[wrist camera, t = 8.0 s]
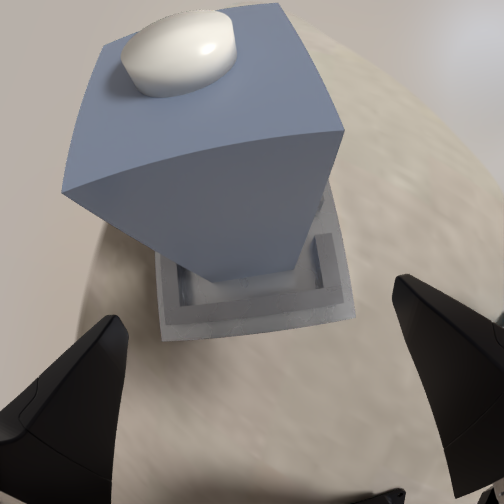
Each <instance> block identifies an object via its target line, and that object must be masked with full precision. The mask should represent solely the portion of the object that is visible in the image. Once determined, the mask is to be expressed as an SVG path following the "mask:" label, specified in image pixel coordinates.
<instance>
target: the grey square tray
mask: <svg viewBox="0 0 504 504" xmlns="http://www.w3.org/2000/svg"><path fill="white" fill-rule="evenodd" d="M155 268H156V285H157V299H158V310H159V321H160V330H161V339H162V342H163V341H182V340H196V339H209V338H221V337H231V336H240V335H249V334H258V333H266V332H273V331H281V330H288V329H294V328H301V327H307V326H313V325H319V324H325V323H330V322H336V321H341V320H346V319H352V318H356V314H355V307H354V301H353V294H352V288H351V282H350V276H349V270H348V265H347V259H346V254H345V249H344V244H343V239H342V234H341V230H340V225H339V221H338V216H337V212H336V208H335V204H334V199H333V195H332V191H331V187H330V184H329V180H328V181H327V184H326V187H325V189H324V192H323V195H322V198H321V200H320V203H319V206H318V208H317V211H316V214H315V217H314V219H313V222H312V224H311V227H310V230H309V232H308V235H307V238H306V240H305V243H304V245H303V248H302V250H301V253H300V255H299V258H298V260H297V263H296V265H295V268H294V269H293V270H288V271H282V272H276V273H270V274H264V275H257V276H251V277H245V278H239V279H232V280H226V281H220V282H213V283H211V282H210V281H208V280H206V279H204V278H202V277H200V276H199V275H197V274H195V273H193V272H191V271H190V270H188V269H186V268H184V267H182V266H181V265H179V264H177V263H175V262H174V261H172V260H170V259H168V258H167V257H165V256H163V255H161V254H160V253H158V252H156V251H155Z"/></svg>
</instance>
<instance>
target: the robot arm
mask: <svg viewBox="0 0 504 504" xmlns="http://www.w3.org/2000/svg"><path fill="white" fill-rule="evenodd" d="M392 302H393V305H394V308H395V311H396V314H397V317H398V320H399V323H400V326H401V330H402V333H403V336H404V339H405V342H406V344H407V347H408V349H409V352H410V354H411V356H412V359H413V361H414V364H415V366H416V369H417V371H418V374H419V376H420V379H421V382H422V384H423V387H424V390H425V392H426V395H427V398H428V401H429V404H430V407H431V409H432V412H433V415H434V419H435V422H436V425H437V428H438V431H439V435H440V438H441V441H442V445H443V448H444V453H445V457H446V461H447V465H448V469H449V473H450V477H451V482H452V487H453V492H454V496H455V499H457V498H459V497H462V496H465V495H467V494H470V493H472V492H474V491H477V490H479V489H481V488H484V487H486V486H488V485H490V484H492V483H493V486H491V487H490V488H489V489H487V490H486V491H484V492H483V493H482V495H481V497H480V499H479V501H478V503H477V504H504V328H502V327H500V326H499V325H497V324H496V323H494V322H492V321H491V320H489V319H487V318H486V317H484V316H482V315H481V314H479V313H477V312H476V311H474V310H472V309H471V308H469V307H467V306H465V305H464V304H462V303H460V302H459V301H457V300H455V299H453V298H452V297H450V296H448V295H446V294H444V293H443V292H441V291H439V290H437V289H435V288H434V287H432V286H430V285H428V284H426V283H425V282H423V281H421V280H419V279H417V278H415V277H413V276H412V275H410V274H403V275H399V276H397V277H396V279H395V283H394V288H393V293H392ZM128 340H129V336H128V332H127V330H126V328H125V327H124V325H123V323H122V321H121V320H120V318H119V317H118V316H117V315H106V316H105V317H104V318H102V319H101V320H100V321H99V322H98V323H97V324H96V325H94V326H93V327H92V328H91V329H90V330H89V331H88V332H86V333H85V334H84V335H83V336H82V337H81V338H80V339H79V340H77V341H76V342H75V343H74V344H73V345H72V346H71V347H70V348H69V349H68V350H66V351H65V352H64V353H63V354H62V355H61V356H60V357H59V358H58V359H57V360H56V361H55V362H54V363H53V364H51V365H50V366H49V367H48V368H47V369H46V370H45V371H44V372H43V373H42V374H41V375H40V376H39V378H37V379H36V380H35V381H34V382H32V384H31V385H30V386H28V387H27V388H26V389H25V390H24V391H23V392H22V393H21V394H20V395H18V396H17V397H16V398H15V399H14V400H13V401H12V402H10V403H9V404H8V405H7V406H6V407H5V408H3V409H2V410H1V411H0V504H111V490H112V471H113V458H114V448H115V439H116V430H117V423H118V415H119V409H120V402H121V396H122V390H123V384H124V378H125V370H126V359H127V349H128ZM398 494H399V495H398ZM405 495H406V492H405V490H404V489H398V490H395V491H392V492H389V493H386V494H383V495H380V496H377V497H374V498H371V499H367V500H364V501H360V502H356V503H352V504H404V501H405Z"/></svg>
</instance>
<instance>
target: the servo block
mask: <svg viewBox="0 0 504 504" xmlns="http://www.w3.org/2000/svg"><path fill="white" fill-rule="evenodd" d="M344 131H345V130H344V127H343V125H342V122H341V120H340V118H339V115H338V113H337V111H336V108H335V106H334V104H333V102H332V99H331V97H330V95H329V93H328V91H327V89H326V87H325V85H324V83H323V80H322V78H321V76H320V74H319V72H318V70H317V69H316V67H315V65H314V63H313V61H312V59H311V57H310V55H309V53H308V52H307V50H306V48H305V46H304V44H303V43H302V41H301V39H300V37H299V36H298V34H297V32H296V31H295V29H294V27H293V26H292V24H291V22H290V21H289V19H288V18H287V16H286V14H285V13H284V11H283V10H282V8H281V7H280V5H279V4H278V3H269V4H257V5H248V6H240V7H233V8H227V9H221V10H216V11H213V10H193V11H187V12H182V13H178V14H174V15H171V16H168V17H165V18H163V19H160V20H158V21H156V22H154V23H152V24H150V25H149V26H147V27H145V28H144V29H142V30H141V31H139V32H136V33H134V34H131V35H128V36H126V37H123V38H121V39H118V40H116V41H113V42H111V43H109V44H107V45H104V47H103V48H102V51H101V53H100V55H99V58H98V60H97V62H96V65H95V68H94V70H93V72H92V75H91V78H90V80H89V83H88V86H87V89H86V92H85V95H84V98H83V101H82V104H81V107H80V110H79V114H78V117H77V121H76V124H75V128H74V132H73V136H72V140H71V144H70V148H69V153H68V158H67V162H66V168H65V173H64V179H63V185H62V194H64V195H65V196H67V197H68V198H70V199H71V200H73V201H74V202H76V203H77V204H79V205H80V206H82V207H84V208H85V209H87V210H89V211H90V212H92V213H93V214H95V215H96V216H98V217H100V218H101V219H103V220H104V221H106V222H108V223H109V224H111V225H112V226H114V227H116V228H117V229H119V230H121V231H122V232H124V233H126V234H127V235H129V236H131V237H132V238H134V239H136V240H137V241H139V242H141V243H142V244H144V245H146V246H148V247H149V248H151V249H153V250H154V251H156V252H158V253H160V254H161V255H163V256H165V257H167V258H168V259H170V260H172V261H174V262H175V263H177V264H179V265H181V266H182V267H184V268H186V269H188V270H190V271H191V272H193V273H195V274H197V275H199V276H200V277H202V278H204V279H206V280H208V281H210V282H211V283H213V282H220V281H226V280H232V279H239V278H245V277H251V276H257V275H264V274H270V273H276V272H282V271H288V270H293V269H294V268H295V265H296V263H297V260H298V258H299V255H300V253H301V250H302V248H303V245H304V243H305V240H306V238H307V235H308V232H309V230H310V227H311V224H312V222H313V219H314V217H315V214H316V211H317V208H318V206H319V203H320V200H321V198H322V195H323V192H324V189H325V187H326V184H327V181H328V178H329V175H330V172H331V170H332V167H333V164H334V161H335V158H336V155H337V152H338V149H339V146H340V143H341V140H342V137H343V134H344Z"/></svg>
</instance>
